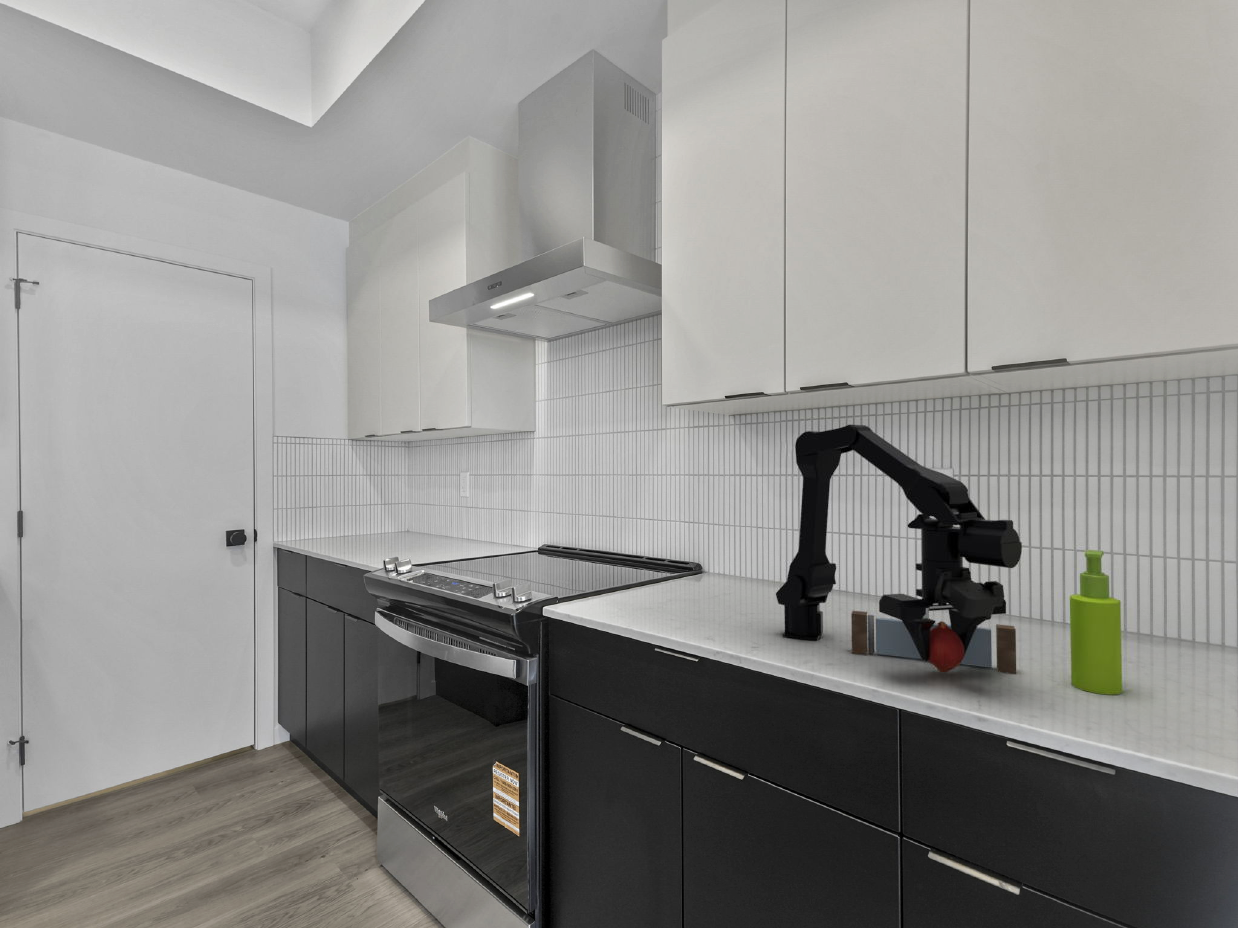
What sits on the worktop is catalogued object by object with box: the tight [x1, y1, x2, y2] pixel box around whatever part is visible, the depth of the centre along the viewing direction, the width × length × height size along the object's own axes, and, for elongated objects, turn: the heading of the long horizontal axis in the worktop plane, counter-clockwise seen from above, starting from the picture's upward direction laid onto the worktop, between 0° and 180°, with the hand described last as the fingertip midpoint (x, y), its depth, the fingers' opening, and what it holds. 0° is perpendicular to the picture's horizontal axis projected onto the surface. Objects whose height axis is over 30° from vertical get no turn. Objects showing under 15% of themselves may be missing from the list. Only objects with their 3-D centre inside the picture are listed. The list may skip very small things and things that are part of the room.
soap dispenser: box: [1069, 549, 1123, 696], centre depth 89 cm, size 6×7×20 cm
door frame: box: [850, 610, 1017, 675], centre depth 101 cm, size 24×3×7 cm, turn 63°
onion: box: [928, 621, 965, 674], centre depth 94 cm, size 6×6×8 cm
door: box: [867, 614, 993, 668], centre depth 102 cm, size 18×1×6 cm, turn 63°
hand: (942, 659), depth 94 cm, fingers closed on onion, 6 cm apart
